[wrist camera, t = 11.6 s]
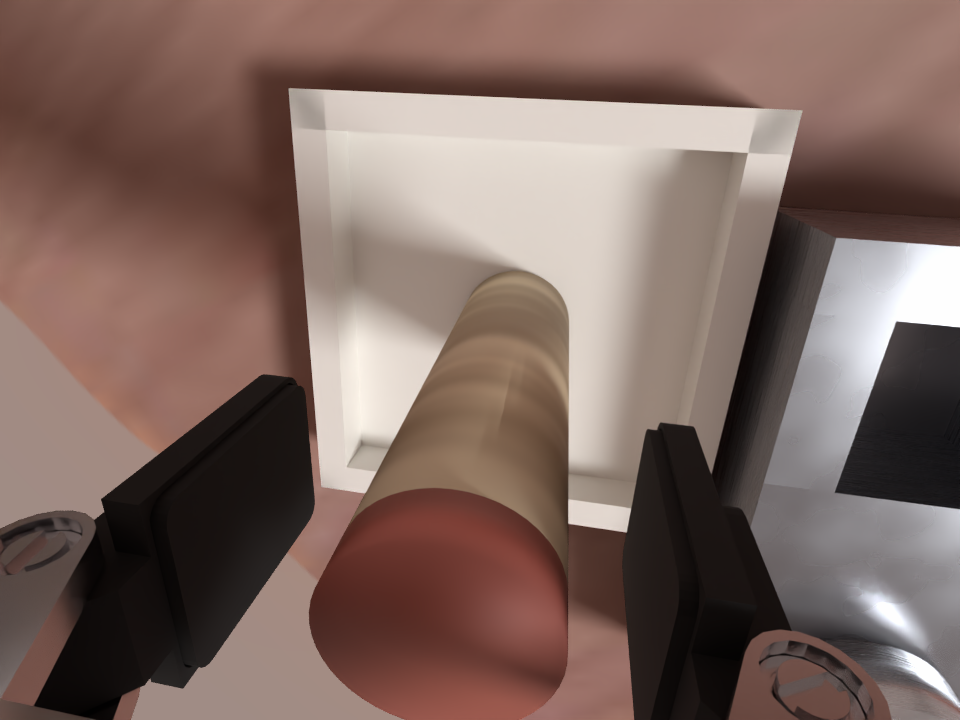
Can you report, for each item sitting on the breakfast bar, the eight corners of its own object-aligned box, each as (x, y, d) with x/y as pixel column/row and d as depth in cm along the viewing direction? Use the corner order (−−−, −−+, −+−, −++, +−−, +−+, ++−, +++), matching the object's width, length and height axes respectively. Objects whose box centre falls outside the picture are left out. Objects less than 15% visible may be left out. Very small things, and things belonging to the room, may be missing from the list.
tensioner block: (767, 205, 16) (909, 272, 9) (1076, 226, 15) (1518, 320, 8) (661, 643, 24) (694, 875, 16) (866, 680, 22) (999, 945, 15)
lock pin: (465, 267, 18) (296, 523, 7) (574, 275, 17) (582, 561, 6) (462, 365, 19) (319, 707, 8) (563, 374, 19) (554, 748, 8)
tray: (327, 92, 17) (288, 88, 15) (771, 111, 16) (802, 110, 13) (348, 450, 23) (321, 486, 20) (682, 496, 21) (694, 542, 18)
